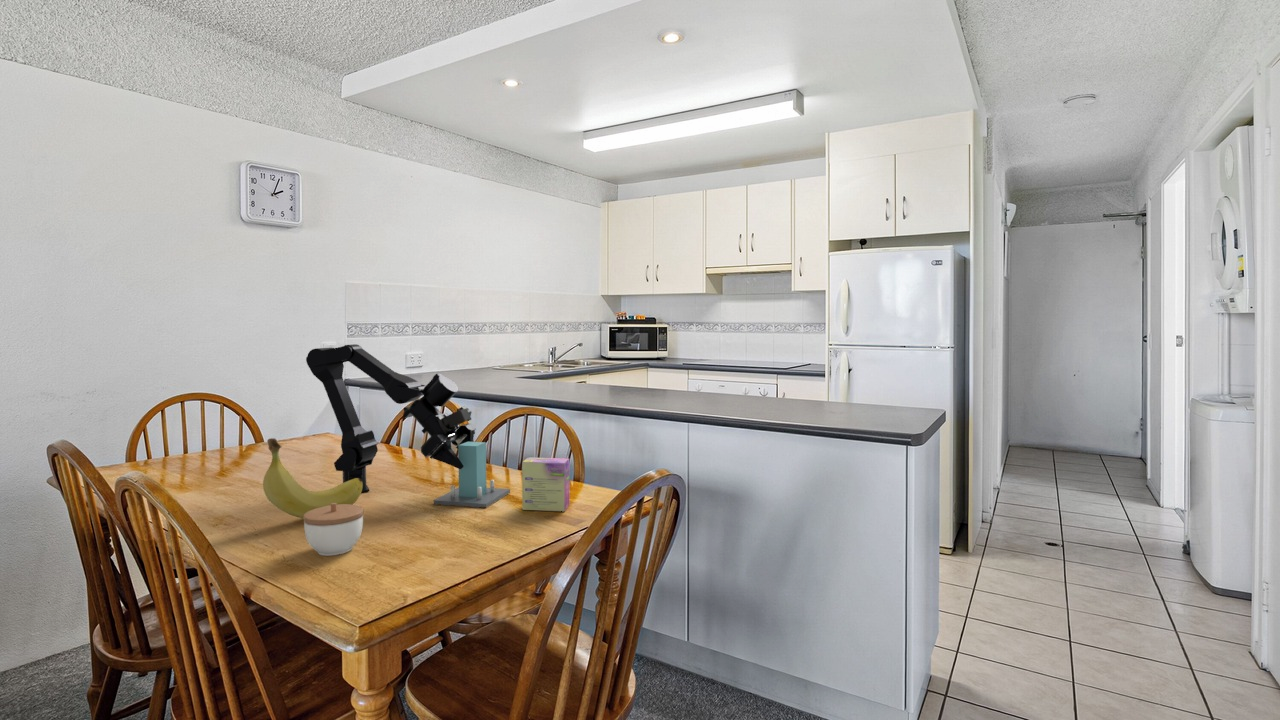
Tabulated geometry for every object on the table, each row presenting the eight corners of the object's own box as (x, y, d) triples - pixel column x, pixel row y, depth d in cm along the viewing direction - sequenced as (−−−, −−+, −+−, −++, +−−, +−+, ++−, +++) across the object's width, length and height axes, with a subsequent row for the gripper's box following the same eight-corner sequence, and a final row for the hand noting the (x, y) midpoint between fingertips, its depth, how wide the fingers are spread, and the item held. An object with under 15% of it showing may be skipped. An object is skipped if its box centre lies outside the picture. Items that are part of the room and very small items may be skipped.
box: (570, 505, 160) (569, 457, 159) (565, 512, 154) (564, 462, 153) (528, 504, 161) (528, 456, 160) (522, 510, 155) (521, 461, 154)
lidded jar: (342, 562, 122) (341, 513, 122) (291, 558, 124) (290, 510, 124) (375, 542, 133) (374, 497, 132) (328, 539, 135) (326, 495, 134)
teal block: (459, 496, 164) (458, 445, 163) (468, 491, 168) (468, 441, 168) (477, 497, 162) (476, 446, 161) (486, 492, 167) (485, 442, 166)
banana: (355, 504, 160) (353, 423, 159) (369, 508, 157) (367, 426, 155) (259, 529, 141) (256, 438, 140) (273, 534, 138) (270, 440, 137)
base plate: (433, 504, 160) (433, 488, 160) (461, 489, 174) (461, 474, 173) (486, 508, 157) (485, 491, 157) (510, 492, 171) (510, 477, 170)
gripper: (431, 402, 156) (474, 450, 154) (468, 393, 174) (507, 436, 172) (402, 433, 158) (444, 480, 156) (442, 421, 176) (480, 463, 175)
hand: (471, 463), depth 165 cm, fingers open, 9 cm apart
